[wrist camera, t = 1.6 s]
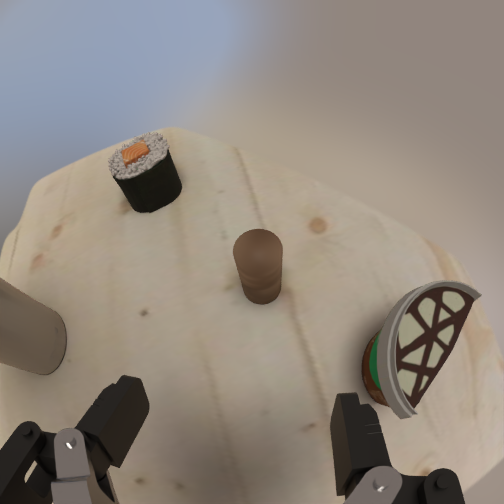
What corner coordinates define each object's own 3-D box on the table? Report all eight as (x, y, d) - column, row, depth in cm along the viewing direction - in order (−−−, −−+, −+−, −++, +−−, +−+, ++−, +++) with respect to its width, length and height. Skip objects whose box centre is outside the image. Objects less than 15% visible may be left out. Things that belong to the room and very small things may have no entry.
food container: (393, 290, 28) (435, 245, 19) (431, 323, 26) (483, 290, 17) (324, 377, 25) (351, 368, 16) (367, 414, 22) (412, 420, 13)
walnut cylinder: (241, 303, 29) (230, 271, 22) (244, 268, 31) (235, 228, 24) (280, 304, 29) (282, 273, 22) (281, 269, 30) (282, 229, 23)
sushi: (190, 192, 37) (174, 149, 30) (136, 222, 35) (111, 183, 28) (171, 161, 40) (156, 121, 34) (123, 187, 39) (102, 149, 32)
